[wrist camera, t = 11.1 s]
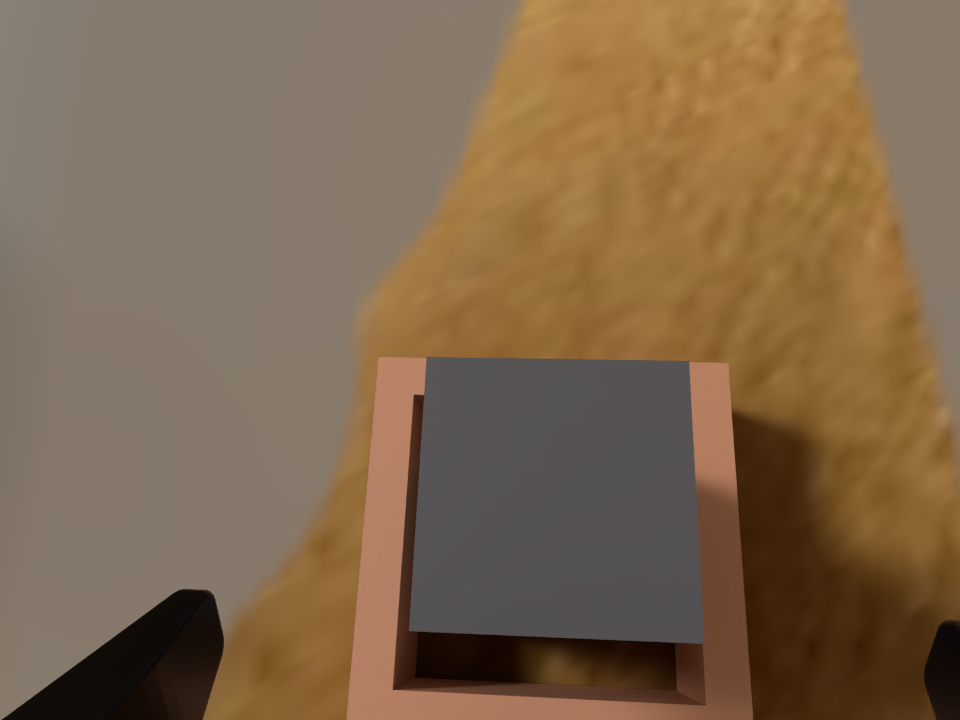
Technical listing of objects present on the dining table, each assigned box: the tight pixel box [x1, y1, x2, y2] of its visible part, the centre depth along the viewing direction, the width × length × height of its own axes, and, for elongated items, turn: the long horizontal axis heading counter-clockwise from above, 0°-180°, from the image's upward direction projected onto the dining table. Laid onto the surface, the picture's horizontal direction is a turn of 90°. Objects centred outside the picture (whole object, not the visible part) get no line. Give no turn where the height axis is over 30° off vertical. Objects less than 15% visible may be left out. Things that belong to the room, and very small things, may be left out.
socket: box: [347, 357, 753, 720], centre depth 19 cm, size 9×9×4 cm
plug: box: [409, 357, 704, 644], centre depth 16 cm, size 4×4×11 cm
